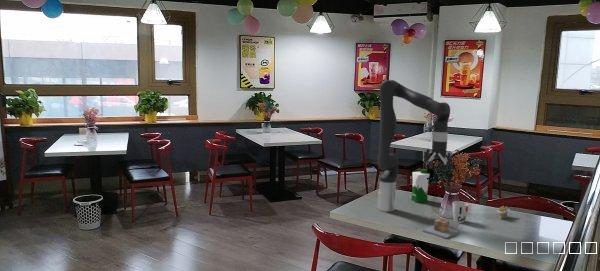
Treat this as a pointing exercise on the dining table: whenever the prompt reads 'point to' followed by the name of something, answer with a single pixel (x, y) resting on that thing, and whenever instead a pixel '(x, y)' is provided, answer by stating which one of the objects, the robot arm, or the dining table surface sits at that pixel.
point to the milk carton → (420, 186)
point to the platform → (503, 212)
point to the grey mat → (444, 235)
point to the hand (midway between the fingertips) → (437, 169)
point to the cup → (460, 211)
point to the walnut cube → (441, 225)
